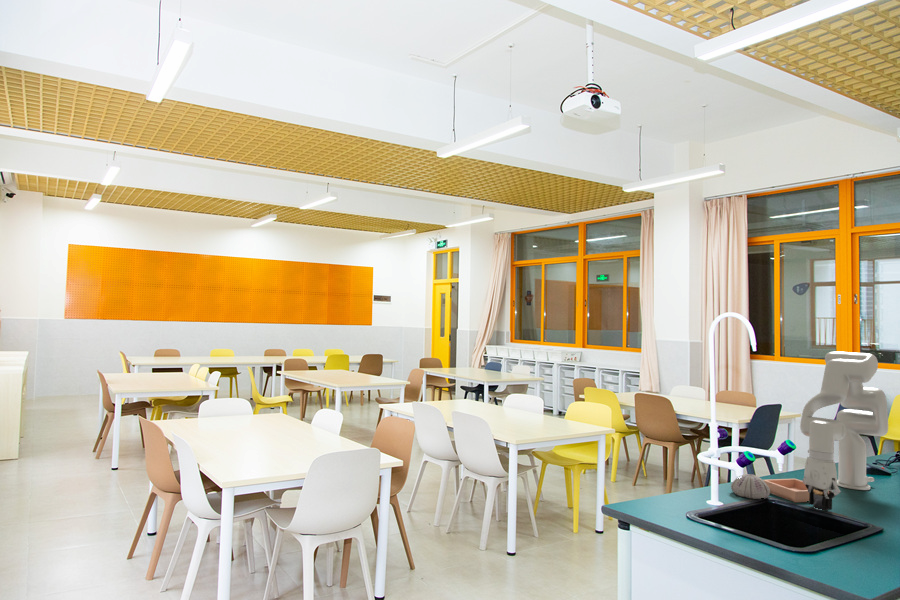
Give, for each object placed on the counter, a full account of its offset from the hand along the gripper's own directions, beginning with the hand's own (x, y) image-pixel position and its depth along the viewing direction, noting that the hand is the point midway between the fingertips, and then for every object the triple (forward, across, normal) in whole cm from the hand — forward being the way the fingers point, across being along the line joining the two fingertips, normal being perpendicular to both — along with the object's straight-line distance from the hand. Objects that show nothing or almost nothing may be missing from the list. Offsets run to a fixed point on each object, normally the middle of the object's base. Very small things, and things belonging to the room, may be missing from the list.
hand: (820, 506), depth 209 cm
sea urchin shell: (+1, -18, -14) cm, 23 cm away
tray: (+1, -16, +5) cm, 17 cm away
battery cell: (+1, 0, 0) cm, 1 cm away
